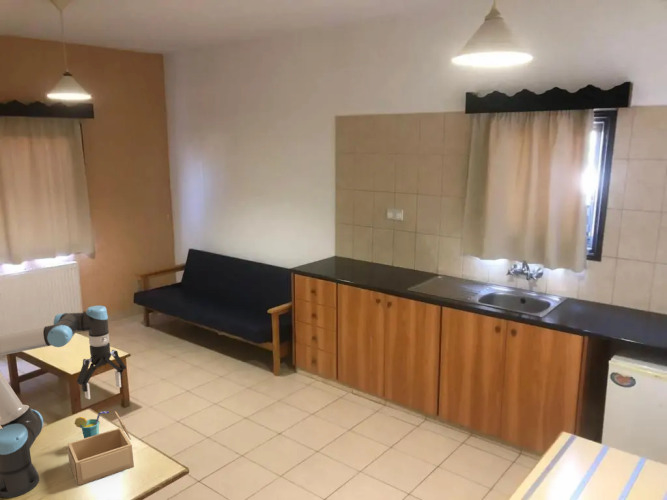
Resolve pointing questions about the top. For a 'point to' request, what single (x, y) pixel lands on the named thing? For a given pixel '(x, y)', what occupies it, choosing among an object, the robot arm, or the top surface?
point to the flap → (122, 425)
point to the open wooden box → (100, 456)
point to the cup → (89, 425)
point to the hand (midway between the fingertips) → (103, 392)
